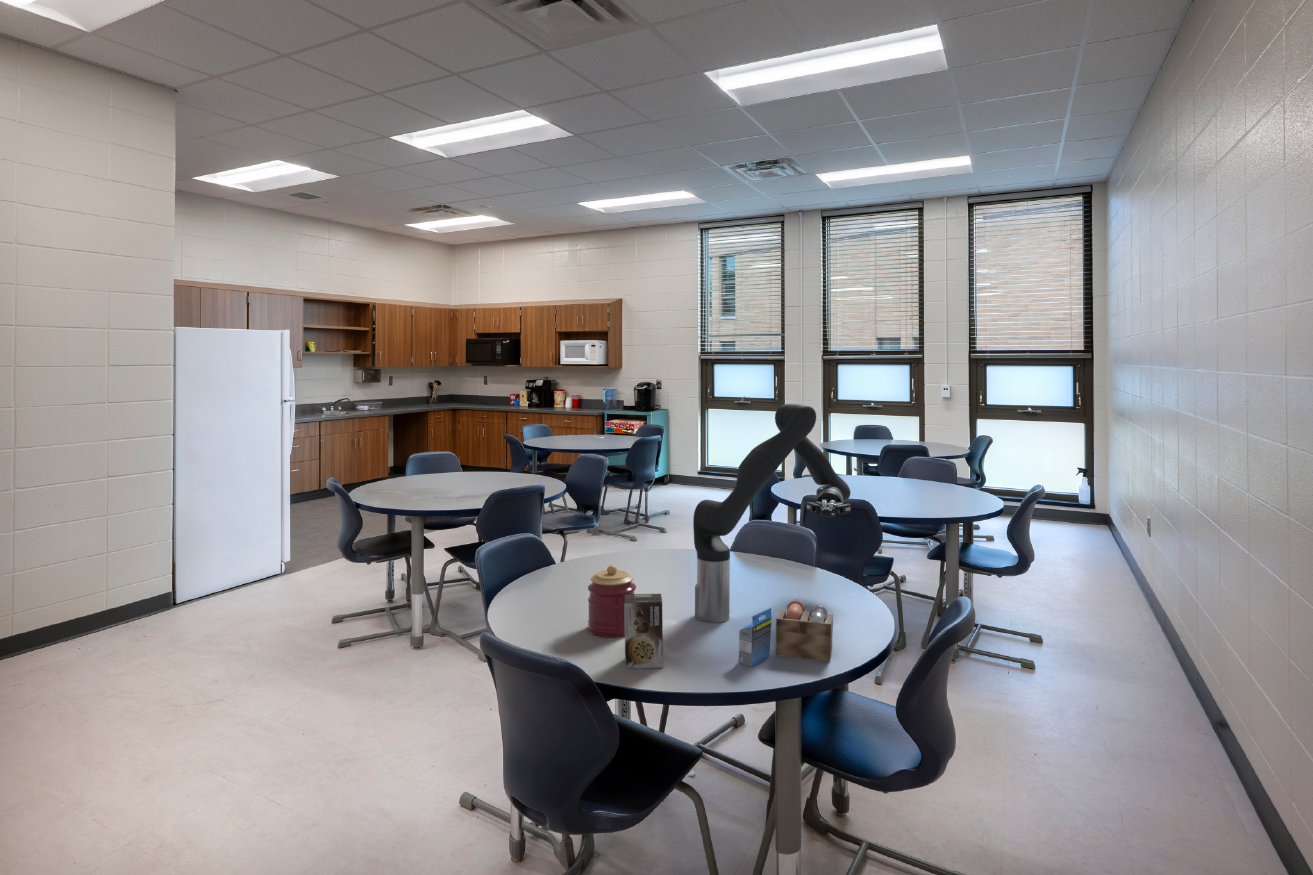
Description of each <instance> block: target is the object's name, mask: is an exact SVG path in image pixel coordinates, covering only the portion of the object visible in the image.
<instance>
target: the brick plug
mask: <svg viewBox="0 0 1313 875" xmlns="http://www.w3.org/2000/svg"><path fill="white" fill-rule="evenodd" d="M805 608H806V607H805V605H804V603H803V602H801V601H800V600H795V599H794V600H791V601H790V602H789V603H788V604H787V607H786V617H785V619H792V620H801V618H802V614H803V612H806V611H805V610H806V609H805Z"/></svg>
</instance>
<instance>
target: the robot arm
mask: <svg viewBox="0 0 1313 875" xmlns="http://www.w3.org/2000/svg"><path fill="white" fill-rule="evenodd" d="M816 421H817V412H816V410H815V409H814V408H813V407H812V406H811V405H808V404H803V403H785V404H782V405H779V407H778V408H776V411H775V414H774V423H775V425H776V427H777V429H778V431H779V432H778V433H777V434H775V435H773V436H771V437H770V438H768V439H766V440H764V441H763V442H761V443H760V444H758V445H756V446H755V447H754V448H752V449H751V450H750V452H749V453H748V454H747V455H746V456H745V457H744V459H743V460H742V461H741V463H740V464H739V466H738V469H737V475H736V482H735V487H733V490H732V491H731V493H729V495H727V497H726V498H725V499H723V501H717V500H713V499H704V500H703V499H702V501H699V503H698V504H697V505H696V507H695V509H694V512H693V518H692V519H693V523H692V524H693V527H692V528H693V543H694V544H693V545H694V548H695V551H696V584H695V585H694V619H695V620H699V621H701V622H706V623H712V624H713V623H723V622H725V621H728V620H729V619H730V610H731V609H730V594H731V593H730V592H731V590H730V587H731V585H730V584H731V581H730V580H731V578H730V576H731V550H730V548H729V546H728V545H727V544H725V543H724V542H723V540H722V539H721V537H725V536H728V535H729V534H730V533H731V532H732V531H733V530H734V529H735V528H736V526H737V525H738V523H739V522H740V520H741V519H742V517H743V516H744V514H745V512H746V510H747V509H748V507H749V506H750V504H751V503H752V502H753V500H754V499H755V497H756V496H758V493H759V492H760V491H761V489H762V488H763V487H764V486H765V485H766V483H767V482H769V480H770V479H771V478H772V477H773V475H774V474H775V472H777V470H778V468H779V466H781V464H782V463H783V462H784V461H785V460H786V458H787V457H789V455H790V454H791V453H792V451H795V452H796V453H797V455H798V456H799V458H800V459H801V461H802V462H803V463H804V465H805V467H806V468H807V471H808V472H809V474H810V476H811V478H812V481H813V482H814V483H815V484H816V485H819V487H818V488H817V489H816V491H815V492H816V498H817V500H816V501H815V502H812V501H807V502H806V511H807V512H810V513H813V514H815V515H821V516H823V517H824V518H825V517H826V518H834V517H836V516H840V515H847V514H851V504H850V503H845V504H844V502H845V501H847V500H849V498H850V496H851V488H850V486H849V485H848V483H846V481H844V479H842V477H840V476H839V475H838V473H836V471H835V470H834V468H833V466H832V464H831V462H830V460H829V459H828V456H827V455H826V453H824V452H823V451H822V450H821V449H820V448H819V447H818V446H817V445H816V444H815V443H814V442H813V441H811V440H810V438H808V435H809V434H810V433H811V432H812V431H813V429H814V427H815V425H816Z"/></svg>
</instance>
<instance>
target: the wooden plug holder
mask: <svg viewBox="0 0 1313 875" xmlns="http://www.w3.org/2000/svg"><path fill="white" fill-rule="evenodd" d="M786 614H787V609H780V610H779V612H778V615H777V616H776V619H775V656H778V657H779V656H780V657H788V658H797V659H804V660H805V659H806V660H814V661H822V662H823V661H824V662H831V658H832V652H833V632H834V631H833V625H834V624H833V623H834V622H833V621H834V614H833V613H828V614H827V620H826V621H825V623H823V622H813V621H810V618H811V617H810V611H804V612H803V614H802V616H801V619H800V620H792V619H785V617H786Z"/></svg>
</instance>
